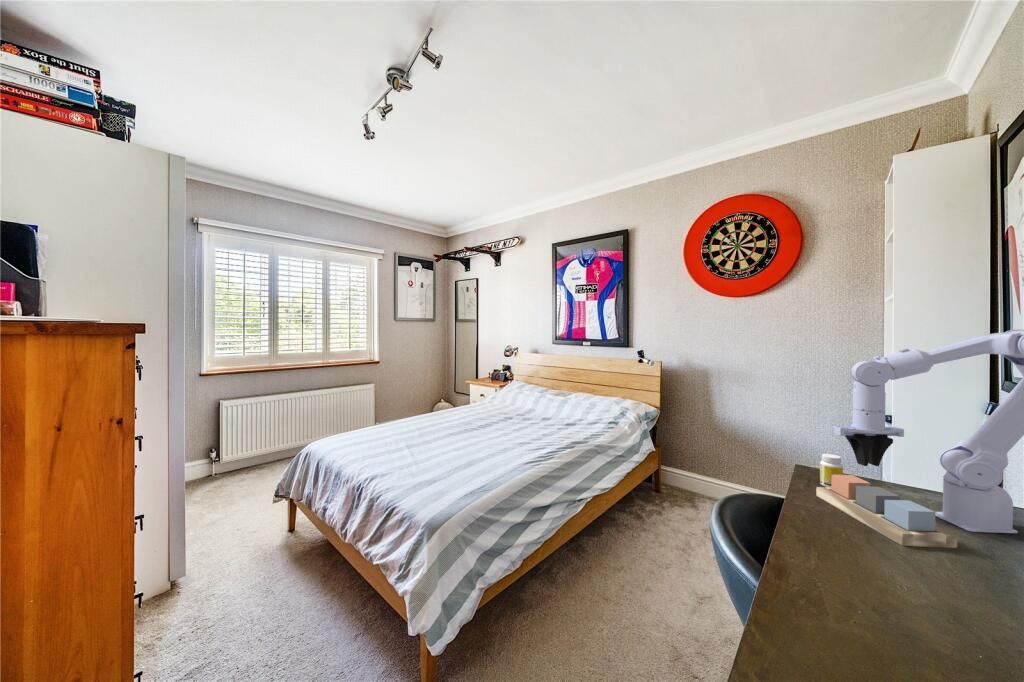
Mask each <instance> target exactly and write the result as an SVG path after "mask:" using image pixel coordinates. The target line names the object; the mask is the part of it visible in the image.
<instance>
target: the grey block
mask: <svg viewBox="0 0 1024 682" xmlns="http://www.w3.org/2000/svg"><path fill="white" fill-rule="evenodd" d="M885 500H901V496H900V495H898V494H896V493H894V492H892V491H890V490H887V489H885V488H882V487H880V486H871V487H869V486H856V503H857V504H859V505H860V506H862V507H864V508H866V509H868V510H870V511H872V512H874V513H876V514H884V508H885Z"/></svg>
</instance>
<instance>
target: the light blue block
mask: <svg viewBox="0 0 1024 682" xmlns="http://www.w3.org/2000/svg"><path fill="white" fill-rule="evenodd" d="M935 512H936V511H934V510H931V509H930V508H927V507H925V506H923V505H921V504H918V503H916V502H914V501H911V500H907V499H906V500H905V499H904V500H903V499H900V500H885V508H884V518H885V519H887V520H889V521H891V522H893V523H895V524H896V525H898V526H900V527H902V528H904V529H906V530H908V531H931V532H935V525H936V516H935Z"/></svg>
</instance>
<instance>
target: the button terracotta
mask: <svg viewBox="0 0 1024 682" xmlns="http://www.w3.org/2000/svg"><path fill="white" fill-rule="evenodd" d="M871 485H872V484H871V482H869V481H866V480H864V479H862V478H860V477H858V476H856V475H853V474H843V475H832V482H831V490H832V491H834V492H836V493H838V494H840V495H842V496H843V497H845V498H847V499H856V486H869V487H872V486H871Z"/></svg>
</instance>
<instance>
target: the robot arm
mask: <svg viewBox="0 0 1024 682" xmlns="http://www.w3.org/2000/svg"><path fill="white" fill-rule="evenodd" d="M898 351H899V352H895V353H891V354H888V355H884V356H882V357H881V356H880V355H876V356H873V357H872V358H873V360H872V361H871V360H861V361H858V362H856V363H855V364H854V365H853V366H852V368H851V370H849V374H850V376H851V378H852V379H853V390H852V423H850V424H849V425H848V424H847V425H834V426H833V434H834V435H837V436H840V437H845V439H846V440H847V442H848V443H849V445H850V447H851V449H852V450H853V453H854V456H855V459H856V463H857V464H858V465H861V466H864V467H868V465H869V464H870V465H872V466H874V467H880V464H881V461H882V459H883V456H884V455H885V453H886V451H887V450H888V449H889V447H890V446H891V445H892V444H893V443H894V438H891V437H899V438H904V437H905V429H904V428H901V427H897V426H886V400H887V399H886V394H887V393H886V384H887V383H888V382H889V381H890V380H891V381H895V380H899V379H904V378H907V377H911V376H916V375H919V374H925V373H928V372H930V370H931V369H932V367H933V366H934V365H938V364H941V363H946V362H951V361H952V362H953V361H956V360H957V361H958V360H961V359H966V358H971V357H976V356H981V355H986V354H987V355H1001V356H1003V357H1004V358H1005V359H1007V360H1008V361H1010V362H1011V363H1013V365H1015V367H1016V368H1017V370H1018V371H1019V373H1020V374H1021V376H1022V378H1021V380H1020V381H1019V382H1018V383H1017V384H1016V385H1015V386H1014V388H1013V389H1012V390H1011V391H1010V392H1009V393H1008V394H1007V396H1006V397H1004V399H1002V401H1001V402H1000V403H999V405H998V406H997V407H996V408H995V409H994V410H993V411H992V413H991V414H990V415H989V416H988V417H987V418H986V420H984V422H982V424H981V425H980V426H979V427H978V429H977V430H975V432H974V433H973V434H972V435H971V436H970V437H968V438H966V439H962V440H959V442H958V443H957V444H956V445H955V446H953V447H952V448H948V449H946V450H944V451H943V452H941V454H940V455H939V459H938V460H939V464H940V465H941V467H942V468H943V469H944V470H945V471H946V473H945V474H944V475H943V476H942V477H943V479H942V480H943V481H942V483H943V484H942V486H943V487H942V511H934V512H935V517H936V518H939V519H941V520H944V521H945V522H948V523H950V524H951V525H955V526H957V527H959V528H961V529H963V530H965V531H968V532H972V533H995V534H996V533H1000V534H1002V533H1003V534H1018V532H1019V531H1018V530H1016V529H1014V528H1013V527H1014V523H1013V520H1014V519H1013V518H1014V517H1013V516H1014V514H1013V513H1014V504H1013V503H1014V502H1013V499H1012V497H1011V496H1010V494H1009V492H1008V491H1006V490H1005V489H1004V488H1003V487H1001V486H999V485H1000V484H1001V483H1002V481H1003V480H1004V479H1003V477H1004V470H1005V469H1006V468H1007V467H1008V466H1009V459H1008V458H1009V457H1008V453H1009V452H1010V450H1011V449H1012V448H1013V447H1014V446H1015V445H1016V444H1017V443H1018V442H1019V441H1020V440H1021V439H1022V438H1023V437H1024V329H1011V330H1006V331H1005V332H994V333H989V334H984V335H979V336H976V337H973V338H969V339H965V340H962V341H961V340H960V341H958V342H954V343H952V344H948V345H944V346H941V347H937V348H933V349H931V350H927V351H923V350H920V349H917V348H912V349H909V348H907V347H906V348H905V347H903V348H901V349H898Z"/></svg>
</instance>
